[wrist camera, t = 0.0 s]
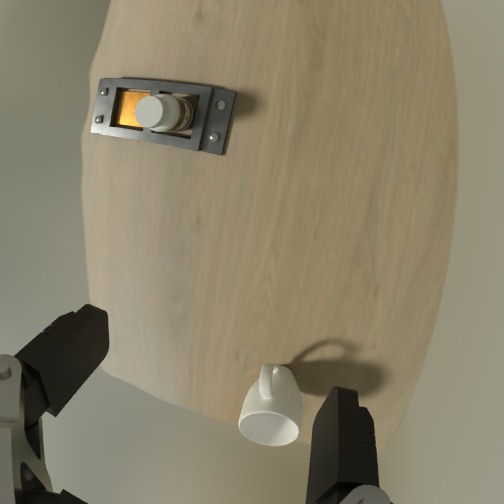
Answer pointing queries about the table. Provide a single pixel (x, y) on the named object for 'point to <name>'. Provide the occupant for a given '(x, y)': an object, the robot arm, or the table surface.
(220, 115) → the metal frame plate
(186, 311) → the table surface
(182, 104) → the pill bottle
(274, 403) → the mug
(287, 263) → the table surface
